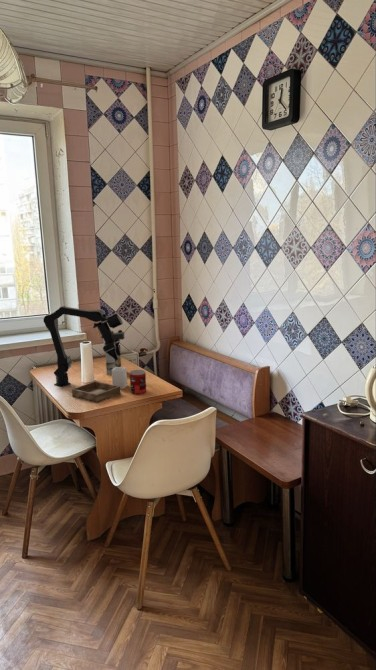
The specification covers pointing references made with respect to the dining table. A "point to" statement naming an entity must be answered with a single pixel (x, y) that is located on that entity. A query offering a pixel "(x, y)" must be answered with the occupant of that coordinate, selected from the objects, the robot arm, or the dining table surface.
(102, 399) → the walnut crate
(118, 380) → the light grey block
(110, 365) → the coffee box
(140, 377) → the canned food
